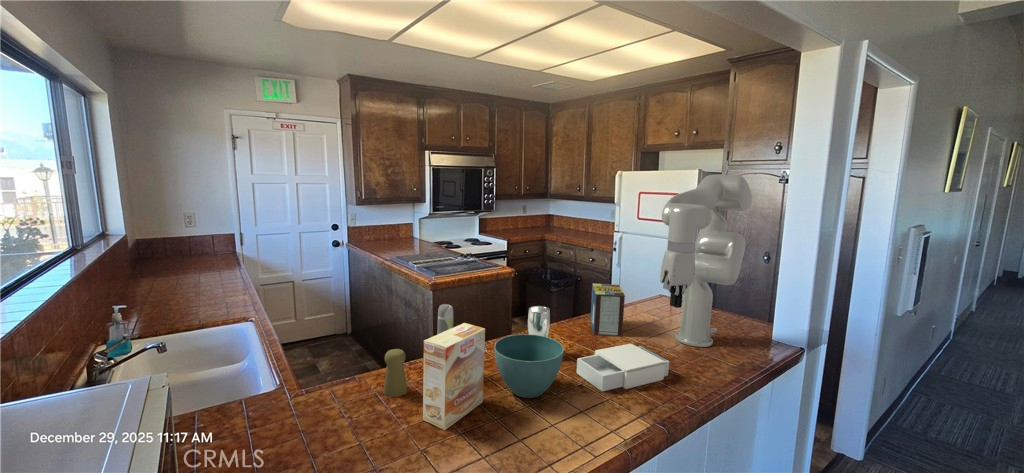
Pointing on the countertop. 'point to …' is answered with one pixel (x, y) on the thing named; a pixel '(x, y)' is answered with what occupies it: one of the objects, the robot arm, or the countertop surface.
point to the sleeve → (634, 364)
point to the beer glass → (539, 320)
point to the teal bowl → (528, 363)
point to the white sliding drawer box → (606, 371)
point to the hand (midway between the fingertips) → (675, 306)
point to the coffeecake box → (453, 374)
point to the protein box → (607, 309)
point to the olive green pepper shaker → (395, 373)
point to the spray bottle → (445, 318)
